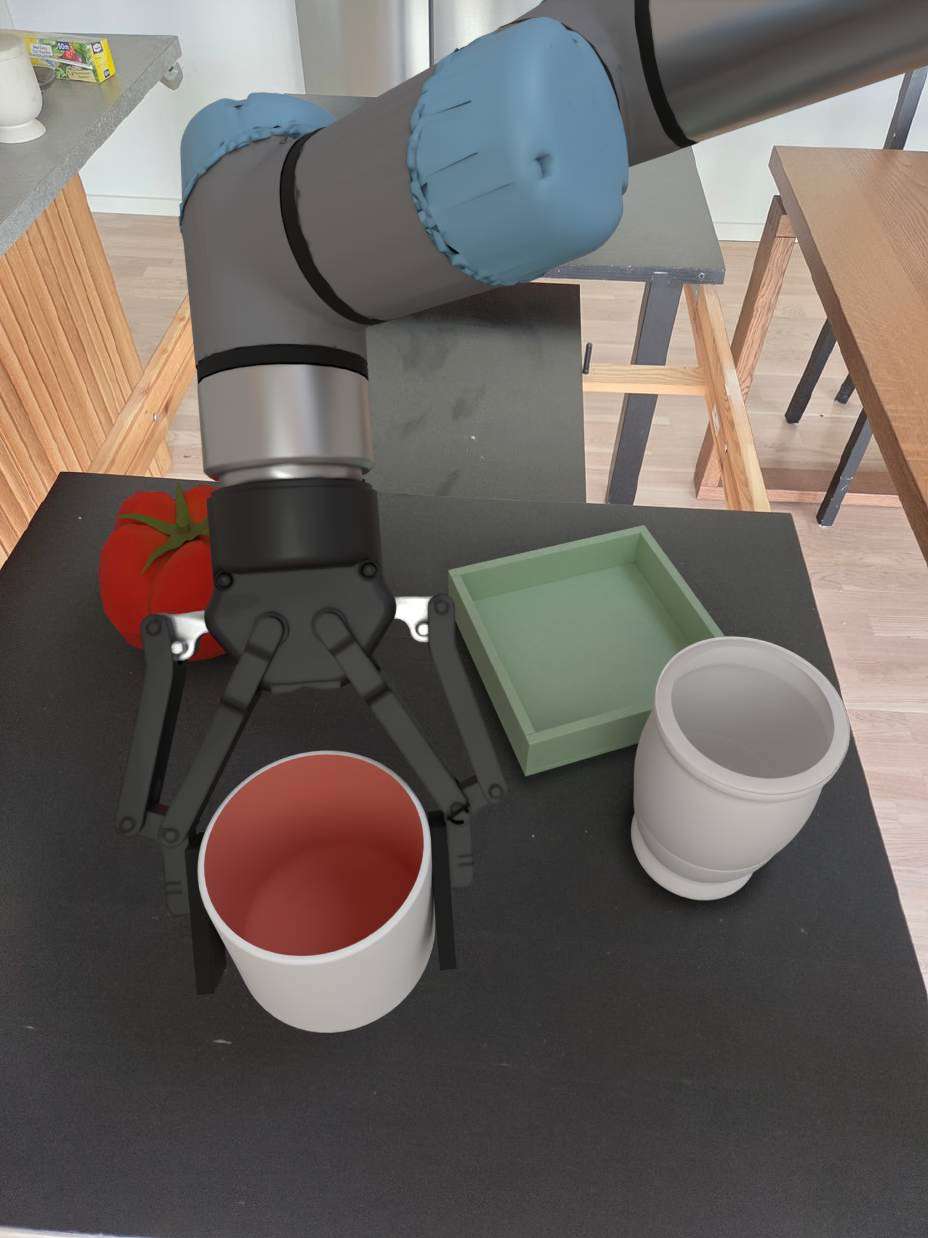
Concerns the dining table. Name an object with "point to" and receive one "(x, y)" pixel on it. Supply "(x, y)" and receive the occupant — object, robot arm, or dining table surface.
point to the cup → (322, 888)
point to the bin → (576, 640)
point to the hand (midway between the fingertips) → (330, 968)
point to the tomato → (158, 562)
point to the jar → (731, 762)
